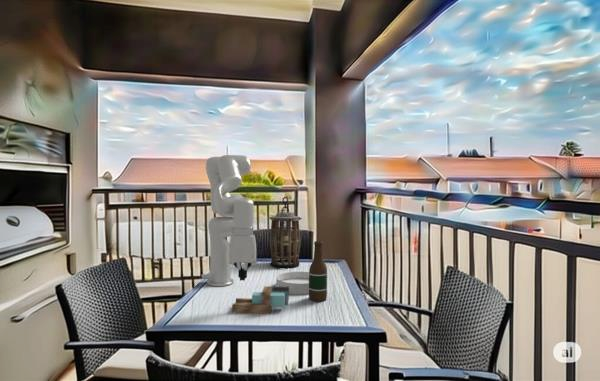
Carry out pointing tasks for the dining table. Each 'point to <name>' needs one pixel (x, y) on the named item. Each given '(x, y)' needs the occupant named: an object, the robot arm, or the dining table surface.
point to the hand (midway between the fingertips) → (242, 279)
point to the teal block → (275, 299)
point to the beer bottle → (318, 275)
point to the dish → (294, 282)
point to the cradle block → (282, 290)
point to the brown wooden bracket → (247, 307)
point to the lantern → (285, 239)
